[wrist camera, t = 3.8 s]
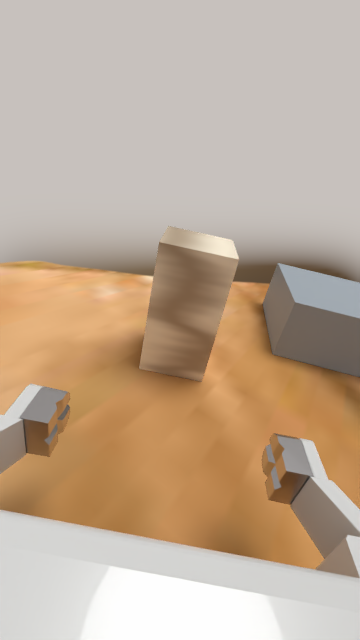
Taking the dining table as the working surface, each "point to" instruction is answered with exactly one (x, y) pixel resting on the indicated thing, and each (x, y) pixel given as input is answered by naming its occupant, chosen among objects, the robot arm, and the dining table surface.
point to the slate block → (314, 319)
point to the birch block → (187, 302)
